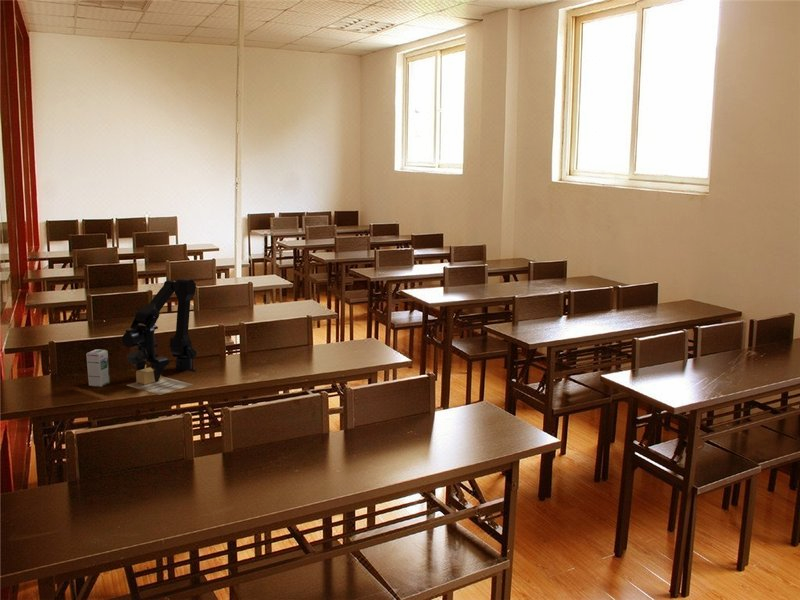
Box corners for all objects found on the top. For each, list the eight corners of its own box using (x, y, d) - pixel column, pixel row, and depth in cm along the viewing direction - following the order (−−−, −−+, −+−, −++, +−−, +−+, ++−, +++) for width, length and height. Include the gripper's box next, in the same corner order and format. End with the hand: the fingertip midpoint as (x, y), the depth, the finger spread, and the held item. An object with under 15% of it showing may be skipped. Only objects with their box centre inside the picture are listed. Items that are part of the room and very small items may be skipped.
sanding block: (153, 378, 290) (152, 366, 289) (161, 380, 287) (160, 368, 286) (136, 383, 283) (135, 371, 282) (144, 385, 280) (144, 373, 279)
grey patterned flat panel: (159, 378, 294) (159, 375, 293) (193, 387, 283) (193, 384, 283) (126, 388, 281) (126, 385, 280) (160, 397, 270) (159, 394, 270)
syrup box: (101, 389, 278) (99, 353, 276) (88, 388, 280) (85, 352, 277) (110, 385, 284) (108, 349, 281) (97, 384, 285) (94, 348, 282)
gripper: (114, 342, 280) (116, 380, 283) (145, 349, 270) (147, 389, 273) (138, 337, 289) (140, 374, 292) (169, 343, 280) (170, 382, 282)
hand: (149, 379), depth 285 cm, fingers open, 9 cm apart
